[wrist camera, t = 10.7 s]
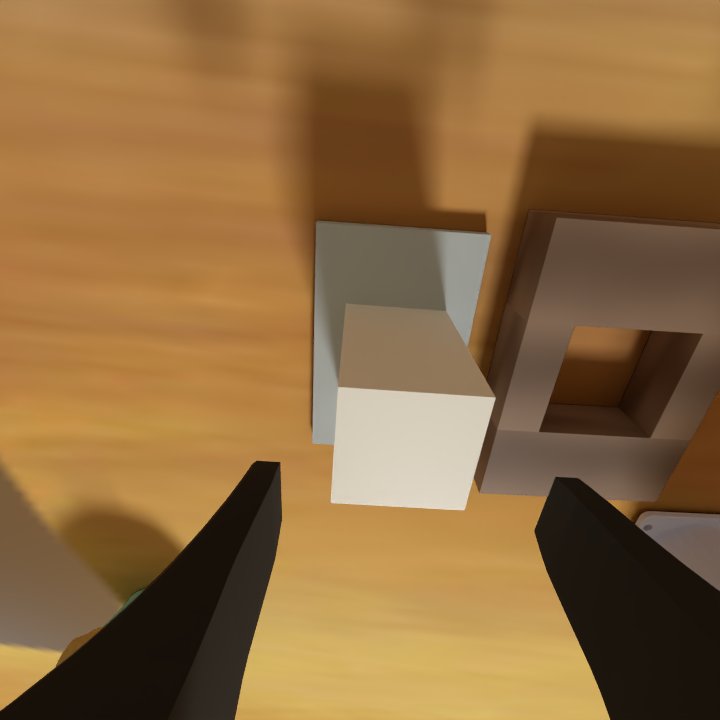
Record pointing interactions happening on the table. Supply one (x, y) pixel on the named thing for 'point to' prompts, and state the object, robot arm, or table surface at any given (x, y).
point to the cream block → (407, 410)
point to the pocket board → (610, 310)
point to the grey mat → (386, 289)
